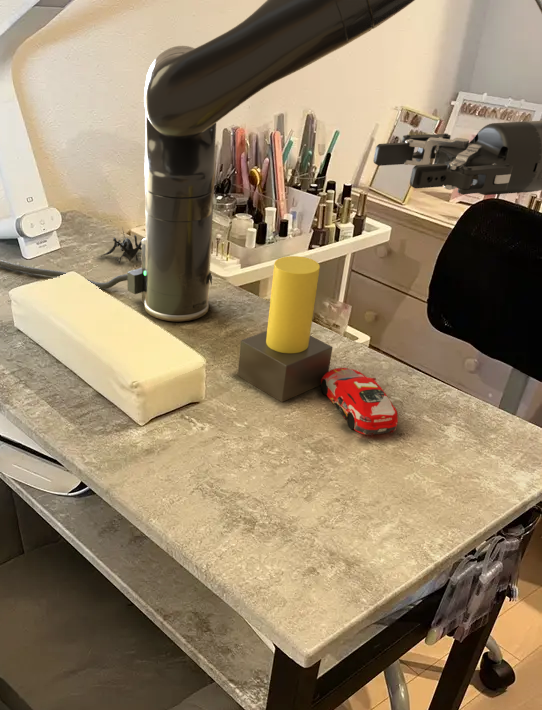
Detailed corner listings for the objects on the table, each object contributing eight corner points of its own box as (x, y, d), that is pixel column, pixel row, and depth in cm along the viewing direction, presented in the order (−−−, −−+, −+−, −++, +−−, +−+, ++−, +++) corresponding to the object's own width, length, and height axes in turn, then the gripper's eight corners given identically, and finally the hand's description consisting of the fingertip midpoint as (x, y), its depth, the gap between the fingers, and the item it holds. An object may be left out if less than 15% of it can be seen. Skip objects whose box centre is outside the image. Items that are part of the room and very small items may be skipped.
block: (237, 375, 98) (240, 340, 95) (282, 357, 102) (286, 323, 99) (281, 402, 93) (286, 365, 90) (327, 382, 97) (333, 346, 94)
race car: (314, 384, 97) (318, 356, 94) (354, 380, 98) (359, 351, 95) (356, 442, 87) (362, 412, 84) (400, 437, 88) (408, 407, 85)
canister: (257, 341, 95) (264, 262, 88) (287, 330, 97) (296, 252, 91) (287, 357, 91) (297, 277, 85) (317, 345, 94) (329, 266, 88)
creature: (96, 260, 129) (110, 267, 123) (93, 227, 127) (107, 232, 120) (140, 254, 132) (156, 261, 125) (138, 222, 129) (154, 226, 123)
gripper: (494, 107, 91) (370, 113, 88) (572, 138, 80) (434, 146, 77) (477, 173, 96) (358, 181, 92) (549, 211, 85) (418, 221, 82)
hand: (393, 165), depth 85 cm, fingers open, 8 cm apart
